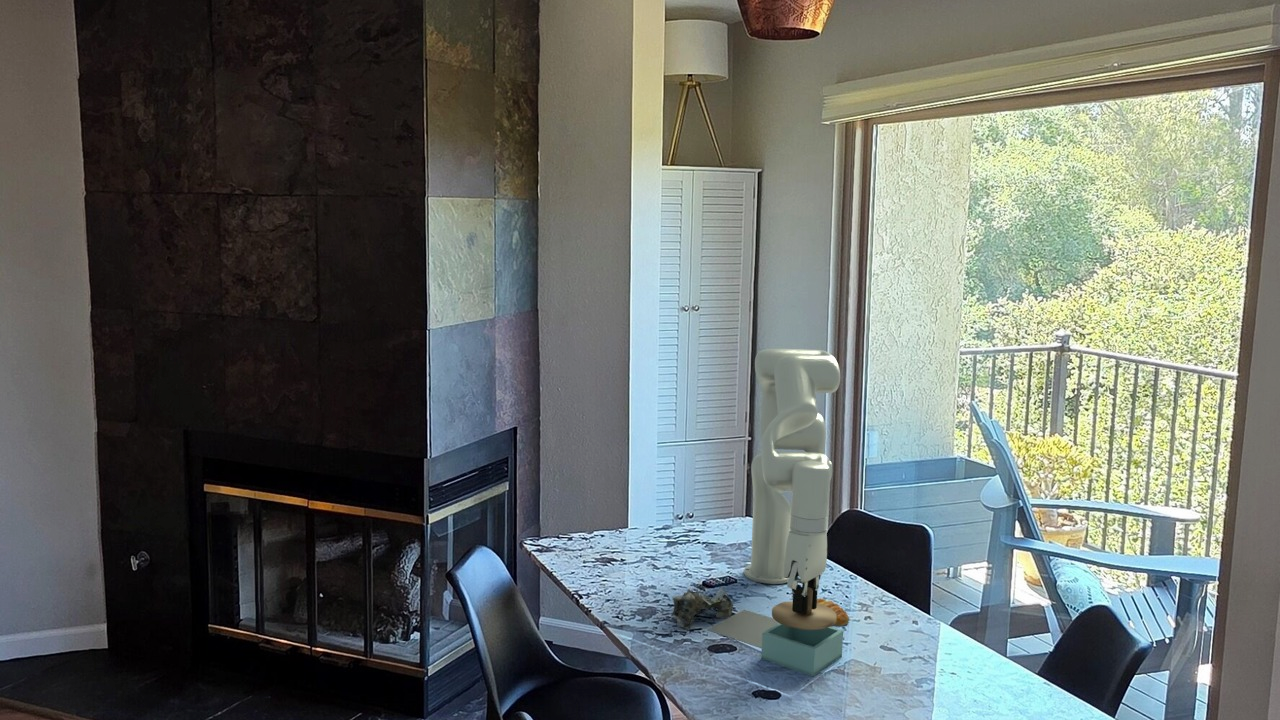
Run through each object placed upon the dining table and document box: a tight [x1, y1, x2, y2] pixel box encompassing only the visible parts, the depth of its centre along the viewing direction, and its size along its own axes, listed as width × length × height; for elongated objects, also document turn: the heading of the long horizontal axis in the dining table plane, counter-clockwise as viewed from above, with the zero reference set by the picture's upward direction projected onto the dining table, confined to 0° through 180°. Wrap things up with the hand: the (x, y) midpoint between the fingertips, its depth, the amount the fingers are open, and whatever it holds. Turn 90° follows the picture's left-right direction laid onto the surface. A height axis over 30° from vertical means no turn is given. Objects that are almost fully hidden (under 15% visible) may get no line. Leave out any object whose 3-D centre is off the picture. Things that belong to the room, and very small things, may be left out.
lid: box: [771, 587, 837, 630], centre depth 209 cm, size 13×13×6 cm
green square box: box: [760, 623, 844, 677], centre depth 211 cm, size 12×12×6 cm
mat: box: [706, 609, 778, 649], centre depth 225 cm, size 15×15×1 cm
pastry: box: [817, 597, 850, 627], centre depth 232 cm, size 9×7×4 cm
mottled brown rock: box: [670, 586, 734, 631], centre depth 230 cm, size 12×11×15 cm
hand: (804, 609), depth 209 cm, fingers closed on lid, 3 cm apart
